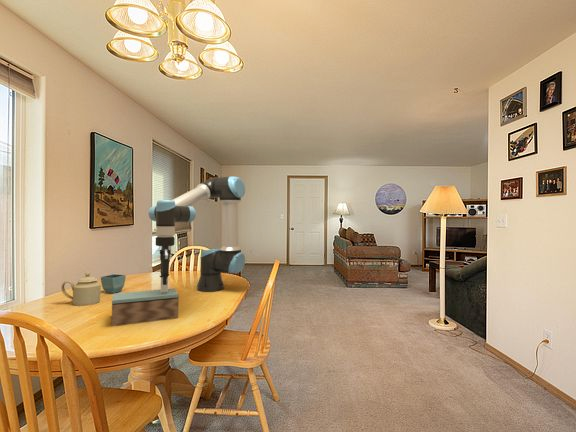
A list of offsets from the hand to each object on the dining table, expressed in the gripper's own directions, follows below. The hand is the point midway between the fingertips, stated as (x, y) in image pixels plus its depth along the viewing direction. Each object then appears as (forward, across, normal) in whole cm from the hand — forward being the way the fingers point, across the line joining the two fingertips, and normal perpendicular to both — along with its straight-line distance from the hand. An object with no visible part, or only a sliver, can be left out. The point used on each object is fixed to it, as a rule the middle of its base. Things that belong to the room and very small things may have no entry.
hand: (164, 291), depth 131 cm
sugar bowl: (+10, -34, -33) cm, 48 cm away
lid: (+2, -1, -7) cm, 7 cm away
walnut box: (+10, -1, -7) cm, 12 cm away
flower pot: (+10, -52, -21) cm, 57 cm away
